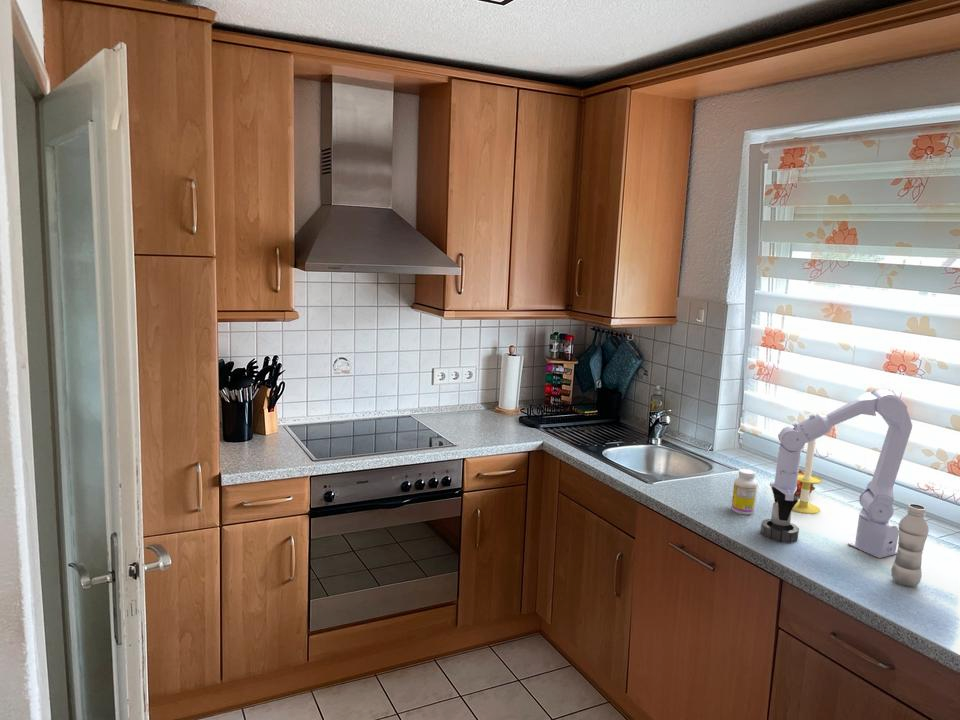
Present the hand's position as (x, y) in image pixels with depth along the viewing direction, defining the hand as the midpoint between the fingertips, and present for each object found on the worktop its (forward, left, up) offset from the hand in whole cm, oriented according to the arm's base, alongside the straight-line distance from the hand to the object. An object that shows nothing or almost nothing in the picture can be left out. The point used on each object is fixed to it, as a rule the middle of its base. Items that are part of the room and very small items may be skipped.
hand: (781, 516), depth 202 cm
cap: (0, 0, -2) cm, 2 cm away
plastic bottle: (-33, -7, -6) cm, 34 cm away
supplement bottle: (+17, -5, -6) cm, 19 cm away
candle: (+12, -26, -6) cm, 29 cm away
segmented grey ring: (0, 0, -6) cm, 6 cm away
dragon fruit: (+21, -35, -6) cm, 41 cm away
